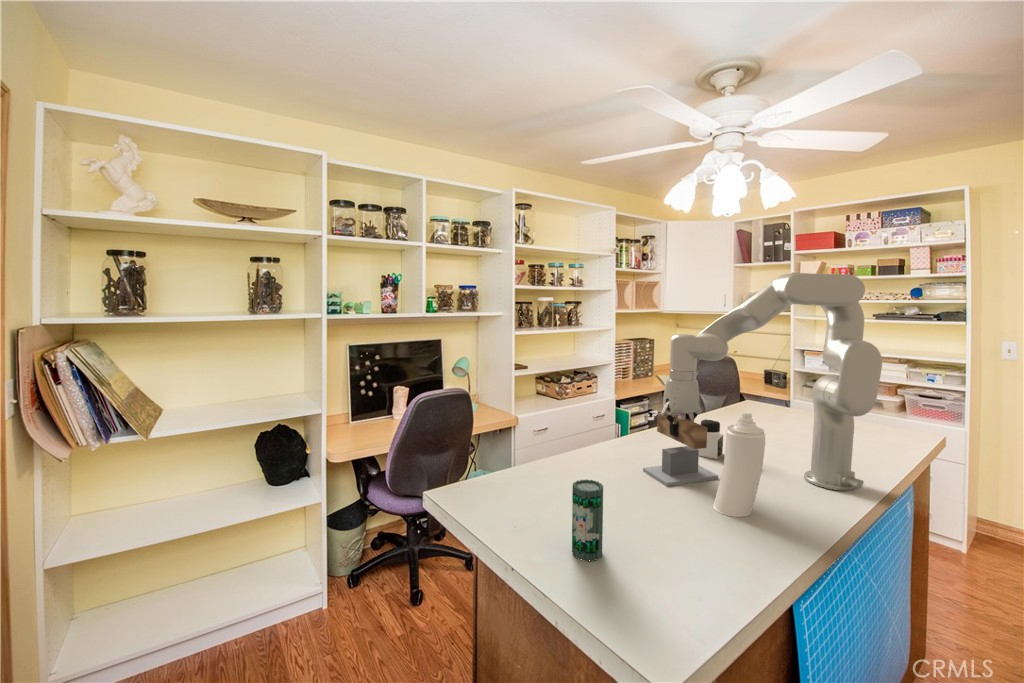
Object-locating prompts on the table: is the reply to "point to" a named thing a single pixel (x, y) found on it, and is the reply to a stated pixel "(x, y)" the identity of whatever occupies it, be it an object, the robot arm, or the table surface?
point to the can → (587, 519)
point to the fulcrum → (679, 467)
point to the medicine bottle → (712, 440)
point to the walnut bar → (684, 432)
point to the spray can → (741, 468)
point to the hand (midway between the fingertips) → (680, 434)
